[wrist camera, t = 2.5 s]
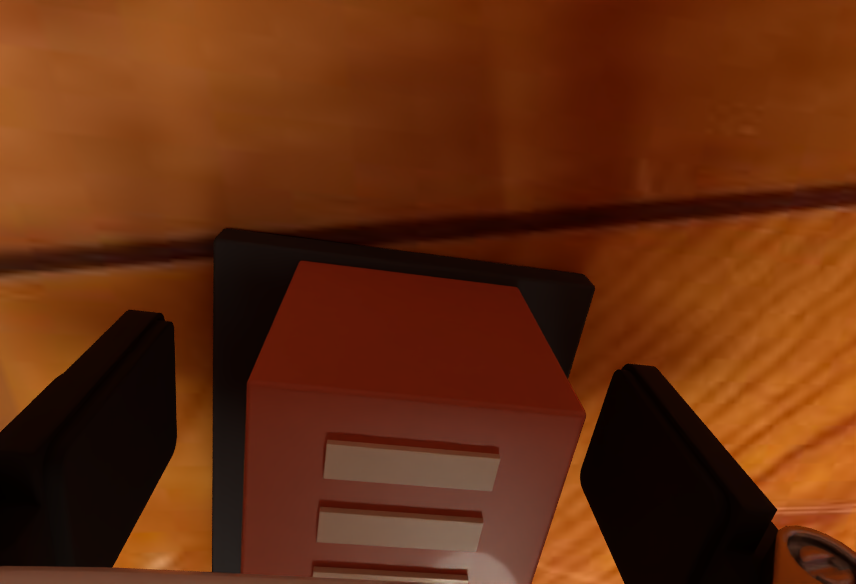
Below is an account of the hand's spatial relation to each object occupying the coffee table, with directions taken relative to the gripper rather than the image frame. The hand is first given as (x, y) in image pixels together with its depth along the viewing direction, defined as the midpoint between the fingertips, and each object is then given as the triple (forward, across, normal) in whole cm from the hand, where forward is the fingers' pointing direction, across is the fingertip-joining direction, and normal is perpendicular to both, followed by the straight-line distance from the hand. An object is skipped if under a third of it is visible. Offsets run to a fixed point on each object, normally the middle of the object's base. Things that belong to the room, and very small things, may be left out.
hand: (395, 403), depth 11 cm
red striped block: (+1, 0, 0) cm, 1 cm away
